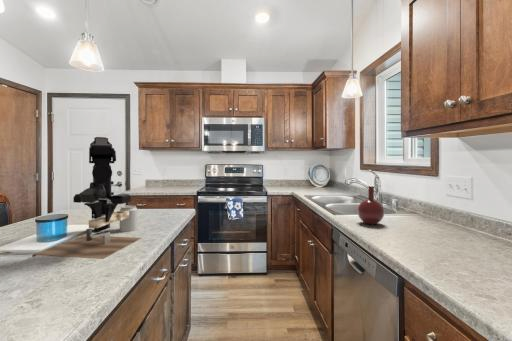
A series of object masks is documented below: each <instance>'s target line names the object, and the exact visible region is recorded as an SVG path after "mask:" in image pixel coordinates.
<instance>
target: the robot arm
mask: <svg viewBox="0 0 512 341" xmlns="http://www.w3.org/2000/svg"><path fill="white" fill-rule="evenodd" d="M88 148H89V149H88V150H89V152H88V163H89V164H94V165H93V166H92V171H91V174H92V181H91V182H90V183H89V187H88V188H86V189H84V190H83V191H81V192H80V193H77V194H74V195H73V200H72V201H73V203H78V204H79V203H84V206H87V207H89V208H90V209H91V220H93V219H96V218H99V217H102V216H105V218H106V222H109V220H110V218H111V216H112V214H113V212H114V211H116V208H117V206H118V205H123V204H127V203H130V202H131V201H132V200H131V196H130V194H129V193H118V194H114V193H115V192H114V191H112V185H114V181H113V180H112V176H113V170H112V166H111V165H110V164H115V162H117V152H116V150H115V148H114V147H113V145H112V143H111V142H110V141H109V138H108V137H106V136H96V137H94V138H93V141H92V142H91V143H90V144H89V147H88ZM110 228H111V223H110V224H107V225H105V226H102V227H99V228H92V232H103V231H106V230H107V229H110Z"/></svg>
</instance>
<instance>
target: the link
mask: <svg viewBox="0 0 512 341" xmlns="http://www.w3.org/2000/svg"><path fill="white" fill-rule="evenodd" d="M126 218H129V211H119V210H114V212H113V214H112V216H111V218H110V220H109V222H106V218H105V216H102V217H99V218H96V219H94V218H93V219H90V220H88V229H94V228H99V227H102V226H105V225H107V224H110V225H111V224H113V223H115V222H118V221H119V222H120V221H121V220H124V219H126Z"/></svg>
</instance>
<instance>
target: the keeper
mask: <svg viewBox="0 0 512 341" xmlns="http://www.w3.org/2000/svg"><path fill="white" fill-rule="evenodd" d="M99 236H102V243H103V244H108V243H110V236H111V231H109V230H107V231H106V230H104V231H99V232H95V233H92V234H90V237H92V238H94V237H99Z"/></svg>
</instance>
